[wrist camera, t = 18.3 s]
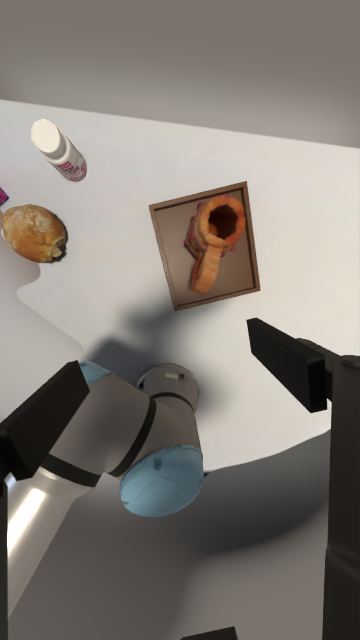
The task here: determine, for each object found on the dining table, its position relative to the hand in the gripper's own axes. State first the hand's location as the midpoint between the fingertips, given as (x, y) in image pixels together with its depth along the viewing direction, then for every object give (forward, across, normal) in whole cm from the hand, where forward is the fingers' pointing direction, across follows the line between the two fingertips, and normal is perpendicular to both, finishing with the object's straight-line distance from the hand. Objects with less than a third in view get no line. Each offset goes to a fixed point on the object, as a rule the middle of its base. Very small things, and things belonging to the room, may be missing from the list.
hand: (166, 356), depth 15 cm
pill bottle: (+29, +11, -28) cm, 42 cm away
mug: (+28, -9, -8) cm, 31 cm away
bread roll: (+29, +21, -18) cm, 40 cm away
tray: (+29, -10, -8) cm, 31 cm away
